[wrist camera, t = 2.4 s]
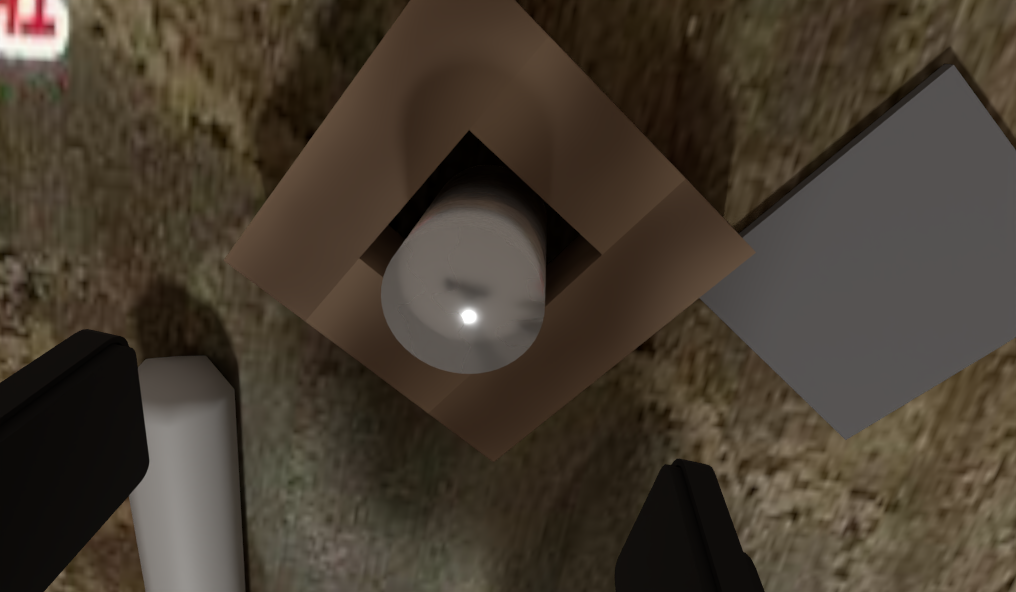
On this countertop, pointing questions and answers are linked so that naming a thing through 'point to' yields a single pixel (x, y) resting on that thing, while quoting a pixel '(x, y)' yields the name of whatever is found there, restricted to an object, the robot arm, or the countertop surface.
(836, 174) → the mat
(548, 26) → the countertop surface
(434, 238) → the round peg
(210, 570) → the tube
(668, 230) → the bore block
